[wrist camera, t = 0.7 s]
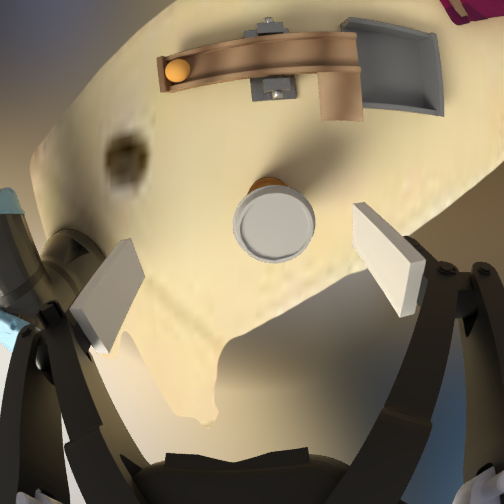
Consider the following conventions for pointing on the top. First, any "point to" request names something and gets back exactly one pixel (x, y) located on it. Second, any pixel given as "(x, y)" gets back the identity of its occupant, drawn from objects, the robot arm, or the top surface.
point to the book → (472, 10)
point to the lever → (280, 66)
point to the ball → (177, 70)
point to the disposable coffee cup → (273, 222)
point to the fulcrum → (271, 85)
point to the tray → (398, 67)
